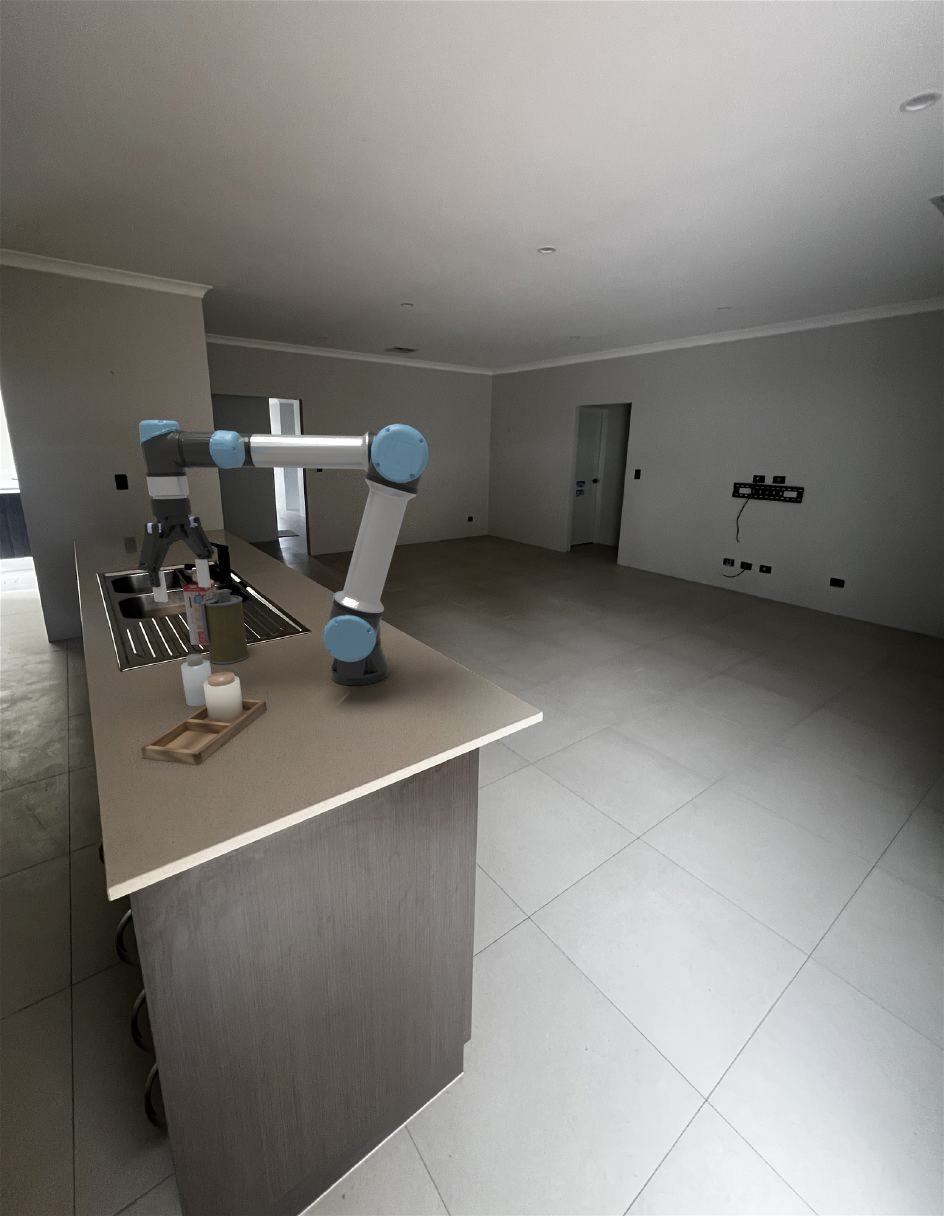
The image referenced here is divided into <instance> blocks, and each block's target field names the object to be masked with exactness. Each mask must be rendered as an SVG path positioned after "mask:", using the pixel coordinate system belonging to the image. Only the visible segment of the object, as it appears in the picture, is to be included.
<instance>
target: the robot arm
mask: <svg viewBox="0 0 944 1216" xmlns="http://www.w3.org/2000/svg"><path fill="white" fill-rule="evenodd" d="M138 424H139V425H138V429H139V444H140V449H141V454H142V460H143V464H144V469H145V470H144V471H145V476H146V483H147V489H148V494H149V496H150V497H152V498H151V499H150V500H149V502H150V503H149V504H150V509H151V515H152V516H153V517H155V518H156V522H145V523H144V525H143V526H144V537H143V541H142V542H143V543H142V545H141V551H140V557H139V561H138V566H137V569H138V570H139V571H143V572H146V573H147V574H148V580H149V585H150V587H151V588H152V594H153V599H154V602H157V603H158V602H159V603H167V602H169V597H168V590H167V583H166V578H165V577H166V576H165V571H164V570H161V569H162V566H163V563H164V561H165V559H166V557H167V555H168V552H169V549H170V548H171V545H173V544H174V543H176V542H178V541H183V542H184V544H185V545H186V546H187V547H188V548H189V549H190V550H191V551H192V553H193V555H195V556H196V559H195V558H194V563H195V568H196V571H195V572H196V573H197V578H198V585H199V587H211V583H210V579H211V578H210V577H211V576H210V563H209V560H210V559H211V560H212V559H213V555H214V554H215V550H214V548H213V547H212V544H211V542H210V540H209V538H208V536H207V534H206V532H205V530H204V528H203V527H202V523H201V517H199V516H190V515H191V514H192V512H193V511H192V507H191V506H192V505H191V500H190V498H189V497H187V496H188V495H190V490H189V488H190V487H189V484H188V483H189V482H188V477H187V471H186V469H224V470H227V469H232V468H233V469H234V468H273V469H275V468H280V469H282V468H284V469H285V468H286V469H289V468H290V469H291V468H292V469H330V470H331V469H336V470H339V469H340V470H343V469H344V470H365V472H366V476H365V479H364V480H365V483H366V484H367V486H368V487H369V491H368V492H369V493H368V495H367V499H366V503H365V506H364V507H365V508H364V511H363V515H362V518H361V521H360V526H359V530H358V534H357V537H356V540H355V545H354V549H353V552H352V556H351V560H350V564H349V566H348V572H347V575H346V579H345V583H344V587H343V590H339V591H336V592H334V593H333V595H332V602H331V603H332V605H331V609H330V612H329V617H328V620H327V623H326V625H324V628H323V631H322V640H323V644H324V647H325V649H326V650H327V652H328V653H329V654H330V655H331V656H332V657H333V660H332V663H331V667H330V675H331V679H332V681H333V682H335V683H337V684H341V685H344V686H345V685H346V686H366V685H371V684H374V683H378V682H380V681H383V680H384V679H386V678H387V677H388V675H389V674H390V672H389V671H390V668H389V667H390V666H389V662H388V660H387V658H386V657H387V656H386V655H385V652H384V650H383V647H382V639H381V638H382V636H381V621H382V617H383V614H384V610H385V607H384V605H383V604H382V602H381V597H382V593H383V590H384V587H385V583H386V579H387V576H388V572H389V570H390V569H389V568H390V565H391V562H392V559H393V556H394V551H395V547H396V545H397V541H398V538H399V533H400V530H401V526H402V523H403V519H404V516H405V513H406V508H407V505H408V502H409V500H411V499H413V498H415V497H416V496H417V495H418V493H419V488H420V485H421V481H422V478H423V474H424V470H425V469H426V467H427V465H428V462H429V456H430V455H429V447H428V444H427V441H426V439H425V437H424V436H423V434H421V433H420V431H419V430H417V429H416V428H414V427H412V426H410V425H407V424H402V423H395V424H391V425H387V426H385V427H383V428H382V429H381V430H380V431H366V433H364V434H363V435H360V436H359V435H326V434H324V435H321V434H318V435H317V434H316V435H315V434H275V433H274V434H272V433H271V434H270V433H269V434H267V433H266V434H263V433H254V434H253V433H238V432H236V431H234V430H222V429H220V430H219V429H217V430H193V431H192V430H190V431H189V430H181V428H180V423H178V422H177V421H176V420H159V419H151V420H150V419H148V420H146V419H145V420H141V421H140V423H138Z"/></svg>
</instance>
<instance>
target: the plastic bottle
mask: <svg viewBox="0 0 944 1216" xmlns="http://www.w3.org/2000/svg"><path fill="white" fill-rule="evenodd" d="M180 669H181V676H182V677H181V678H182V684H183V690H184V696H185V703H186V705H187V706H189V707H201V706H205V705H206V699H205V692H204V685H203V684H204V682H205V681H207V680H208V679H207V678H208V676H210V675H212V668H211V662H210V660H208V659H204V658H203V654H202V653H198V652H197V653H190V654H188V655H186V661H184V662H183V663H182V664H181V665H180Z"/></svg>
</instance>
